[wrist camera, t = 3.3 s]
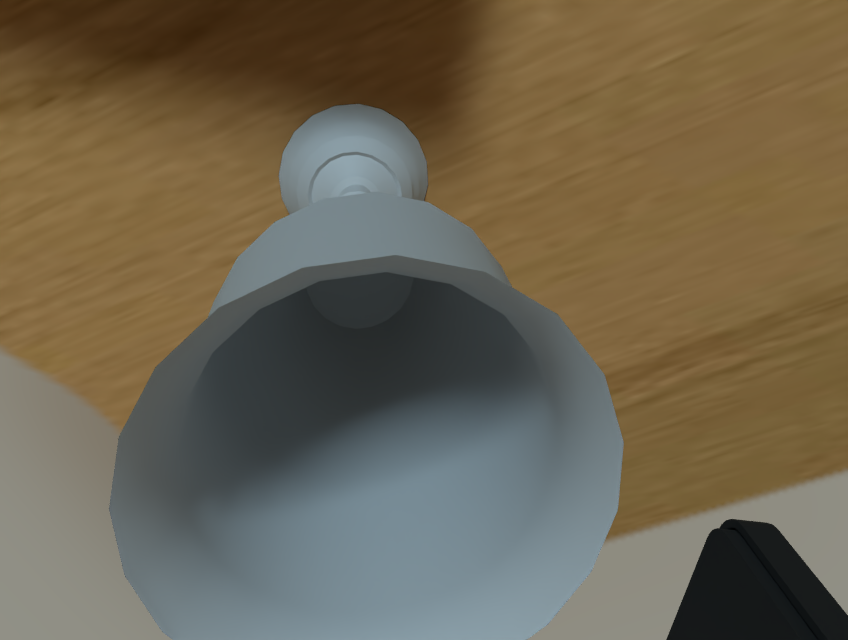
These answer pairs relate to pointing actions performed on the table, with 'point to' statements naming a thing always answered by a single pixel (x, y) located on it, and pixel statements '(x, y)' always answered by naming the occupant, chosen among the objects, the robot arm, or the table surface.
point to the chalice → (366, 426)
